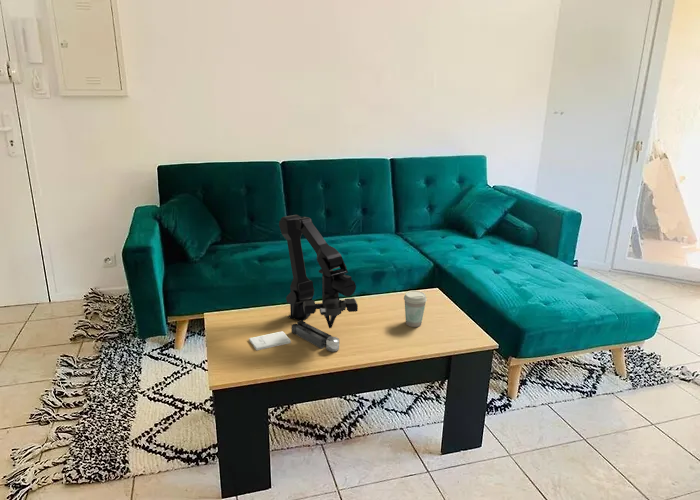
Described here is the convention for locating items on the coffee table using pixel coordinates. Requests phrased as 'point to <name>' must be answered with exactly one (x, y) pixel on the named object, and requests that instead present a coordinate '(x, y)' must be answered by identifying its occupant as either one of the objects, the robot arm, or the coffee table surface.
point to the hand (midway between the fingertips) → (330, 327)
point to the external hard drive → (269, 340)
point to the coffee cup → (414, 307)
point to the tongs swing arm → (330, 341)
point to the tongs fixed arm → (308, 335)
